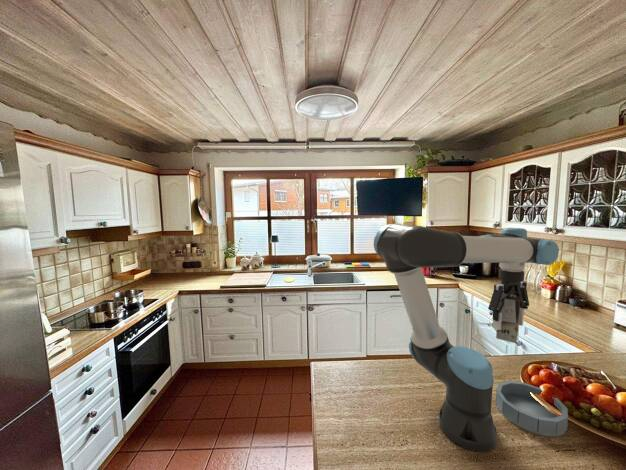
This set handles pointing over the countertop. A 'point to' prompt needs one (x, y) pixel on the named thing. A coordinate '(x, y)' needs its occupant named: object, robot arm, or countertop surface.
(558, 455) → the countertop surface
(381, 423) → the countertop surface
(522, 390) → the bowl
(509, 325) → the coffee box
